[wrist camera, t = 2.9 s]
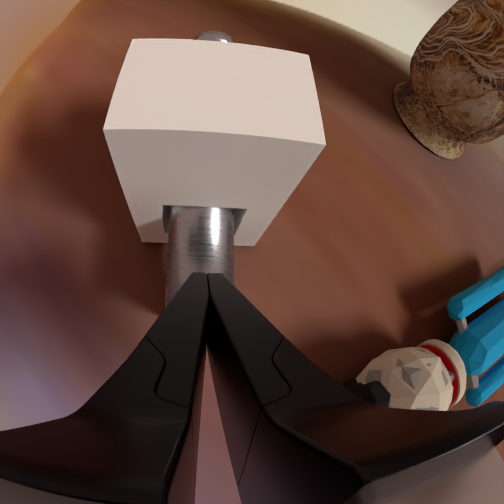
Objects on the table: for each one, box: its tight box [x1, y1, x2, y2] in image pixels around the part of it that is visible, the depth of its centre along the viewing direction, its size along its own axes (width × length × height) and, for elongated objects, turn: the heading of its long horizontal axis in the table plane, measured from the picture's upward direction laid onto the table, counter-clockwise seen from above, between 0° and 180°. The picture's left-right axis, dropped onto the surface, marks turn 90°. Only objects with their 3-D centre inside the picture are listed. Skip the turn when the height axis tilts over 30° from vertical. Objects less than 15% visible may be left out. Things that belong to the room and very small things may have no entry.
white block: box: [103, 39, 326, 246], centre depth 13 cm, size 4×6×10 cm, turn 91°
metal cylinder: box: [165, 31, 235, 308], centre depth 16 cm, size 16×3×5 cm, turn 1°
